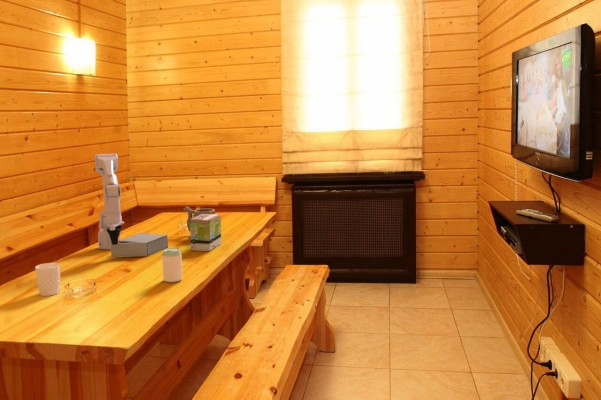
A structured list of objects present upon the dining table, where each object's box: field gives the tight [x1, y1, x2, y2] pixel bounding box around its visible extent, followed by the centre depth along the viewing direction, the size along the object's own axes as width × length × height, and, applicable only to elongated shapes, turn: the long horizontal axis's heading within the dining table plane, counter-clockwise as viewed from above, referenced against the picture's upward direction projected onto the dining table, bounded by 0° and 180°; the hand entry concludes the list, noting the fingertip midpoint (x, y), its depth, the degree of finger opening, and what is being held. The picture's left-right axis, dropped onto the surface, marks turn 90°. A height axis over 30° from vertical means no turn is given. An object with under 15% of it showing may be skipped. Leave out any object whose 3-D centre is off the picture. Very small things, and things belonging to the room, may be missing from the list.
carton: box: [119, 232, 169, 257], centre depth 257 cm, size 15×16×6 cm
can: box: [161, 247, 183, 284], centre depth 210 cm, size 7×7×12 cm
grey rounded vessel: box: [182, 206, 216, 232], centre depth 283 cm, size 20×13×15 cm, turn 58°
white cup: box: [34, 262, 61, 297], centre depth 197 cm, size 8×8×10 cm
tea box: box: [189, 213, 222, 252], centre depth 261 cm, size 15×10×15 cm
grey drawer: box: [110, 236, 148, 258], centre depth 245 cm, size 15×3×9 cm, turn 98°
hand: (115, 243), depth 243 cm, fingers open, 4 cm apart
